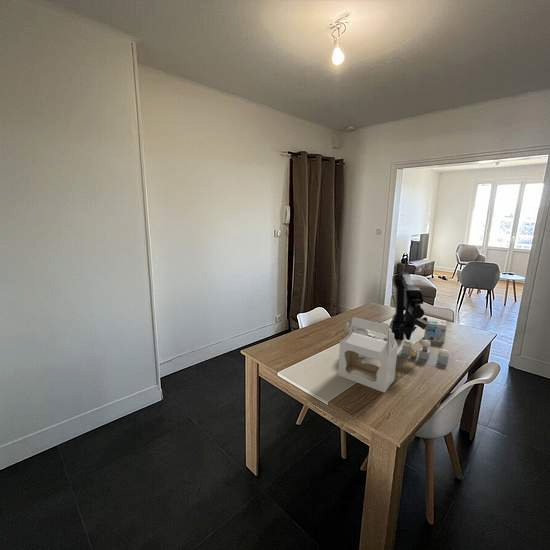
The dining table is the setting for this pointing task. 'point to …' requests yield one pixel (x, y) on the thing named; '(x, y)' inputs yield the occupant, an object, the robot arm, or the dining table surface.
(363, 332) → the milk carton
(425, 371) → the dining table surface
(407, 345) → the knob
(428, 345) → the knob mid
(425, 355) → the panel
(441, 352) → the knob
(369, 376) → the gable box
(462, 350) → the dining table surface
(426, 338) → the light bulb box
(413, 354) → the knob
